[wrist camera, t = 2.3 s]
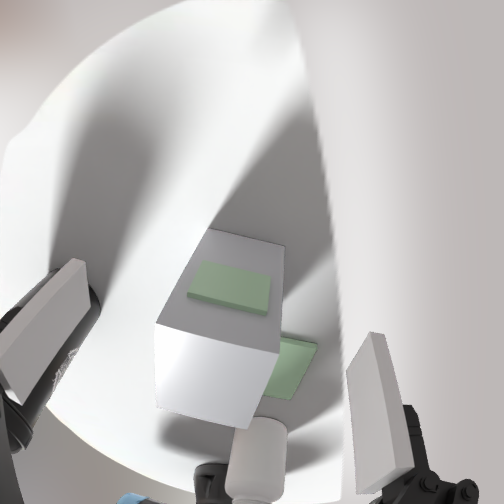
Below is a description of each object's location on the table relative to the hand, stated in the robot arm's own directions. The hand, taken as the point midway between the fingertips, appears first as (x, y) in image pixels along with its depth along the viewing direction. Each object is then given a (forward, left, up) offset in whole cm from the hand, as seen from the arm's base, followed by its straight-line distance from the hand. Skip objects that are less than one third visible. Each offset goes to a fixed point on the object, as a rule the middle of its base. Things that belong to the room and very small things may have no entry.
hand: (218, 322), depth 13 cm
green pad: (-19, -5, -15) cm, 24 cm away
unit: (-8, 0, -15) cm, 17 cm away
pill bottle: (-34, -8, -15) cm, 38 cm away
